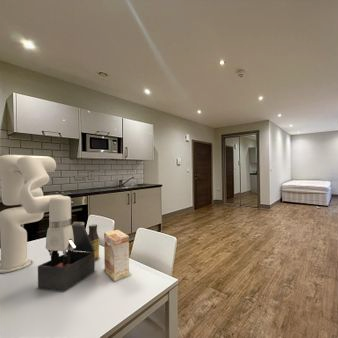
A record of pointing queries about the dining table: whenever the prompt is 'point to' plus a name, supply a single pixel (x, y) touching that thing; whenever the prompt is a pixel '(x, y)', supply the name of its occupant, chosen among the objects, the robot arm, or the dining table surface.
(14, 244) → the robot arm
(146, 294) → the dining table surface
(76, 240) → the box lid with handle
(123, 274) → the coffeecake box
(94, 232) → the sauce bottle
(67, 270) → the dark grey hollow box
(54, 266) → the block
